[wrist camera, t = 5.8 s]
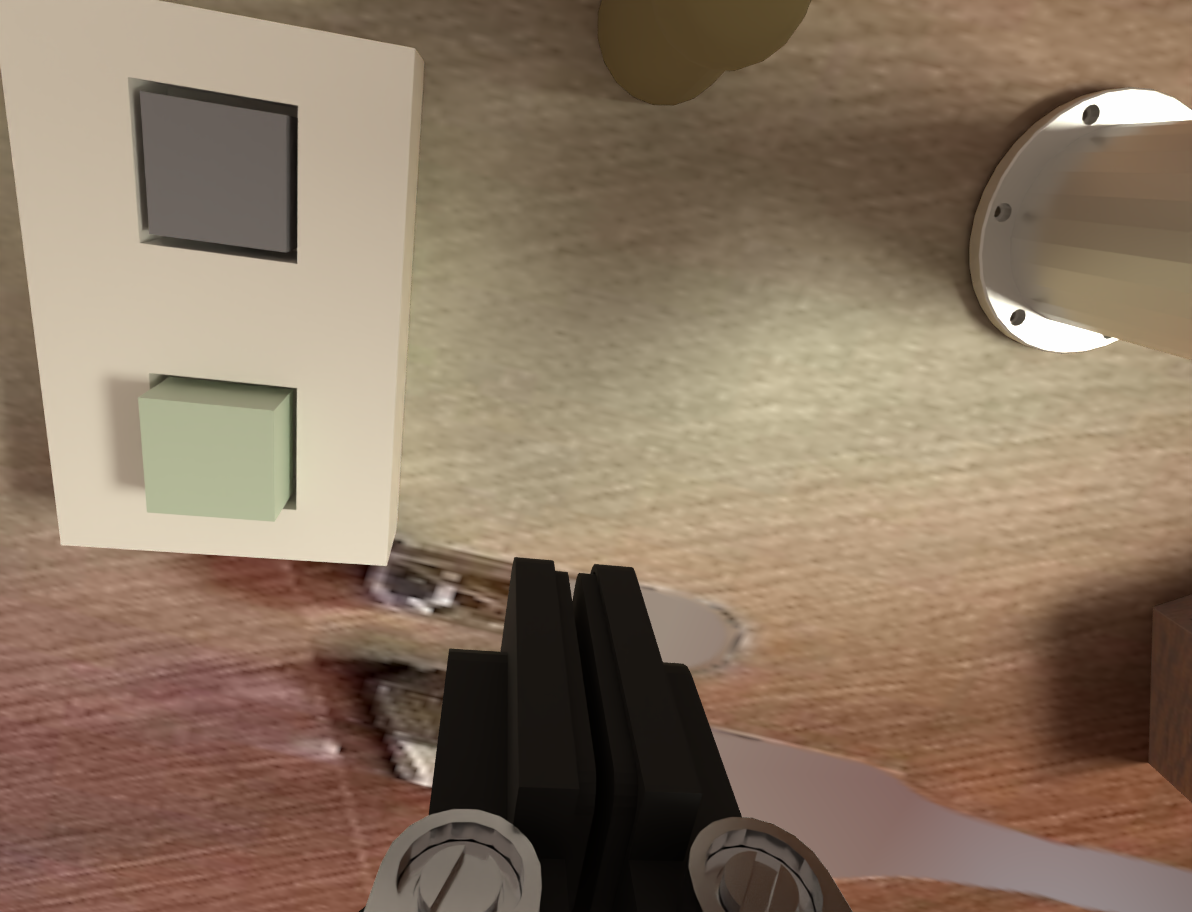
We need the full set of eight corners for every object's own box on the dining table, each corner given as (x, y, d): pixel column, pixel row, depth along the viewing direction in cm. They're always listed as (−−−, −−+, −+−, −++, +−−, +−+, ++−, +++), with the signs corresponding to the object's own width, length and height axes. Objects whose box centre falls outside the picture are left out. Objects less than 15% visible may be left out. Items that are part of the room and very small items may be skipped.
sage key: (292, 389, 32) (273, 410, 29) (292, 492, 34) (274, 521, 31) (169, 376, 31) (138, 397, 28) (176, 482, 33) (146, 512, 30)
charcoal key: (305, 119, 30) (286, 115, 27) (304, 244, 31) (286, 252, 29) (173, 98, 29) (139, 91, 26) (180, 227, 31) (148, 234, 28)
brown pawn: (572, 59, 31) (610, 9, 21) (639, -89, 29) (716, -221, 19) (690, 131, 33) (779, 117, 23) (760, -4, 31) (889, -85, 21)
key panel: (424, 61, 30) (415, 48, 27) (397, 526, 38) (386, 565, 34) (54, -7, 28) (-13, -32, 24) (105, 505, 36) (61, 544, 32)
